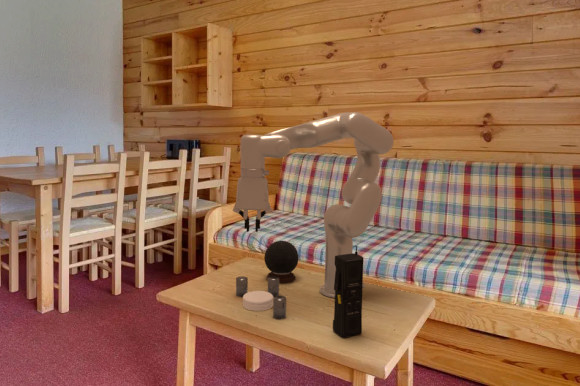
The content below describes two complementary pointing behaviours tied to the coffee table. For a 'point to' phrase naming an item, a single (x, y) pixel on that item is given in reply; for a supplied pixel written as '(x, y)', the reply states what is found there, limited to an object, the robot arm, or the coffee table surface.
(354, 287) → the portable radio
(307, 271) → the coffee table surface
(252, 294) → the coaster
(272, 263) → the black ball on stand
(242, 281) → the posts
